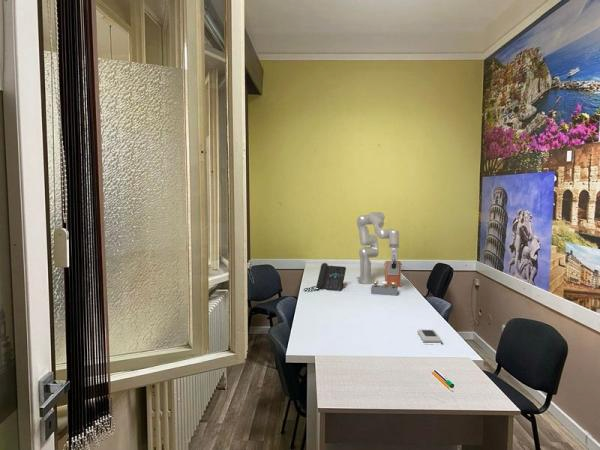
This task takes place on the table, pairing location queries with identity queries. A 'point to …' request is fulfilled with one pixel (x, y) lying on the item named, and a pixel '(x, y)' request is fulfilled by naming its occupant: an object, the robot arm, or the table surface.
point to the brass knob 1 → (375, 283)
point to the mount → (384, 290)
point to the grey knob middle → (384, 283)
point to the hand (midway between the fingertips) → (393, 267)
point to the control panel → (393, 273)
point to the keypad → (429, 336)
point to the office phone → (330, 278)
